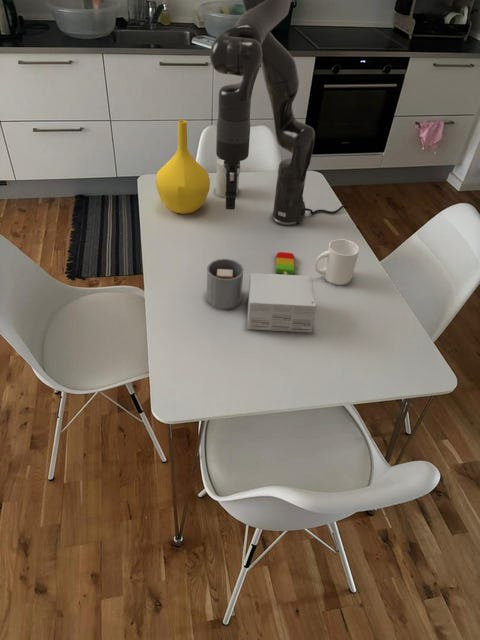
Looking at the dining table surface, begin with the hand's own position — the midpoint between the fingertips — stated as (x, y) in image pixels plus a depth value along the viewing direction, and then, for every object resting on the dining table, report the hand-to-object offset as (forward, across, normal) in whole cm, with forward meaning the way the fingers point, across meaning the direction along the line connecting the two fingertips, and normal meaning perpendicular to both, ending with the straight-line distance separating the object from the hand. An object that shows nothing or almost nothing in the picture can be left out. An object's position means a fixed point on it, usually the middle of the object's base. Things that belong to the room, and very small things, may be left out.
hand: (230, 200), depth 125 cm
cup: (+29, +59, +1) cm, 66 cm away
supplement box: (+28, -11, -14) cm, 33 cm away
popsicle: (+29, +10, -18) cm, 35 cm away
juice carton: (+28, -4, +1) cm, 28 cm away
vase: (+29, +46, +16) cm, 57 cm away
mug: (+29, +8, -32) cm, 44 cm away
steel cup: (+28, -4, +1) cm, 28 cm away
